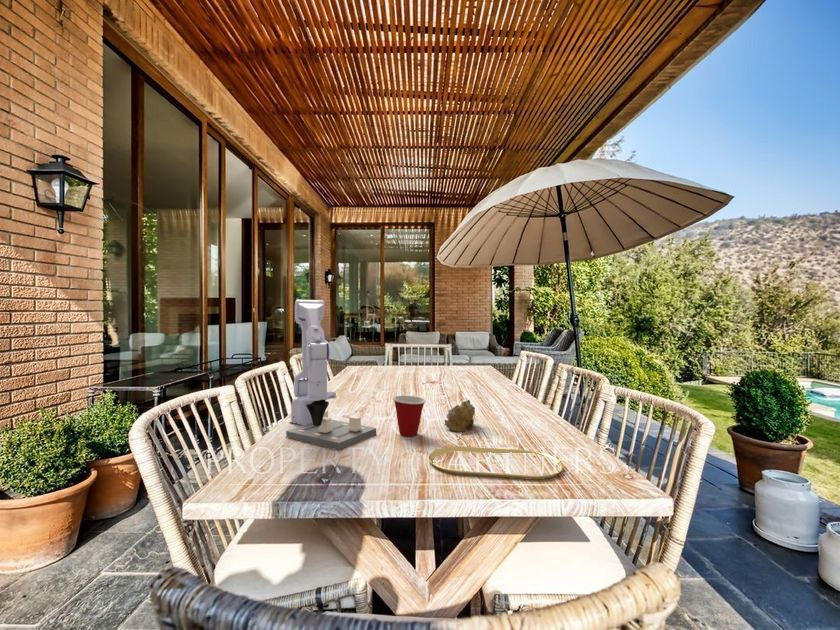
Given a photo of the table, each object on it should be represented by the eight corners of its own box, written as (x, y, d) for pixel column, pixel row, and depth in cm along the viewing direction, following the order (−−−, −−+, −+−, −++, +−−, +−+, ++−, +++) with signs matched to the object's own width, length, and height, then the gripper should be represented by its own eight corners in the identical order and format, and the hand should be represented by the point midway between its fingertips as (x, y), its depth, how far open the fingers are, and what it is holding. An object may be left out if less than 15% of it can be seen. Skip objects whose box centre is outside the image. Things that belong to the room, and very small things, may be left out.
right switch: (347, 430, 131) (347, 417, 130) (354, 427, 133) (354, 415, 133) (355, 431, 129) (355, 419, 129) (362, 429, 132) (362, 416, 132)
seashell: (473, 425, 151) (473, 397, 152) (478, 432, 137) (477, 402, 138) (443, 425, 152) (443, 397, 153) (444, 432, 137) (444, 402, 138)
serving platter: (569, 485, 97) (570, 478, 97) (423, 474, 103) (424, 468, 103) (555, 457, 116) (555, 451, 116) (432, 449, 121) (432, 444, 121)
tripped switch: (317, 431, 129) (318, 418, 129) (325, 428, 132) (325, 416, 132) (325, 432, 127) (325, 420, 127) (332, 430, 130) (332, 417, 130)
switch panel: (286, 437, 130) (286, 430, 130) (326, 424, 145) (326, 418, 145) (338, 449, 119) (338, 442, 119) (376, 434, 134) (376, 427, 134)
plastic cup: (427, 439, 130) (427, 401, 130) (393, 439, 129) (393, 401, 129) (424, 429, 141) (424, 394, 140) (392, 429, 140) (392, 394, 140)
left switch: (315, 423, 138) (315, 411, 138) (322, 421, 140) (322, 409, 140) (322, 425, 136) (322, 413, 136) (329, 422, 139) (329, 411, 139)
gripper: (309, 386, 118) (308, 433, 118) (343, 379, 130) (342, 421, 131) (292, 383, 122) (291, 429, 122) (326, 377, 134) (326, 418, 134)
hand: (317, 425), depth 126 cm, fingers closed
